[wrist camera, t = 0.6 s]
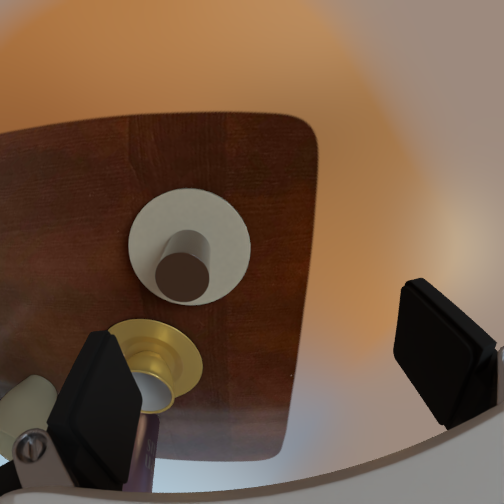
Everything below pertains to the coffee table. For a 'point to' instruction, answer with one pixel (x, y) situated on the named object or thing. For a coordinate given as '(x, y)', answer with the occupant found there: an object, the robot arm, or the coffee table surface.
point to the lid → (189, 246)
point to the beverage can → (143, 455)
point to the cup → (158, 361)
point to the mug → (25, 410)
